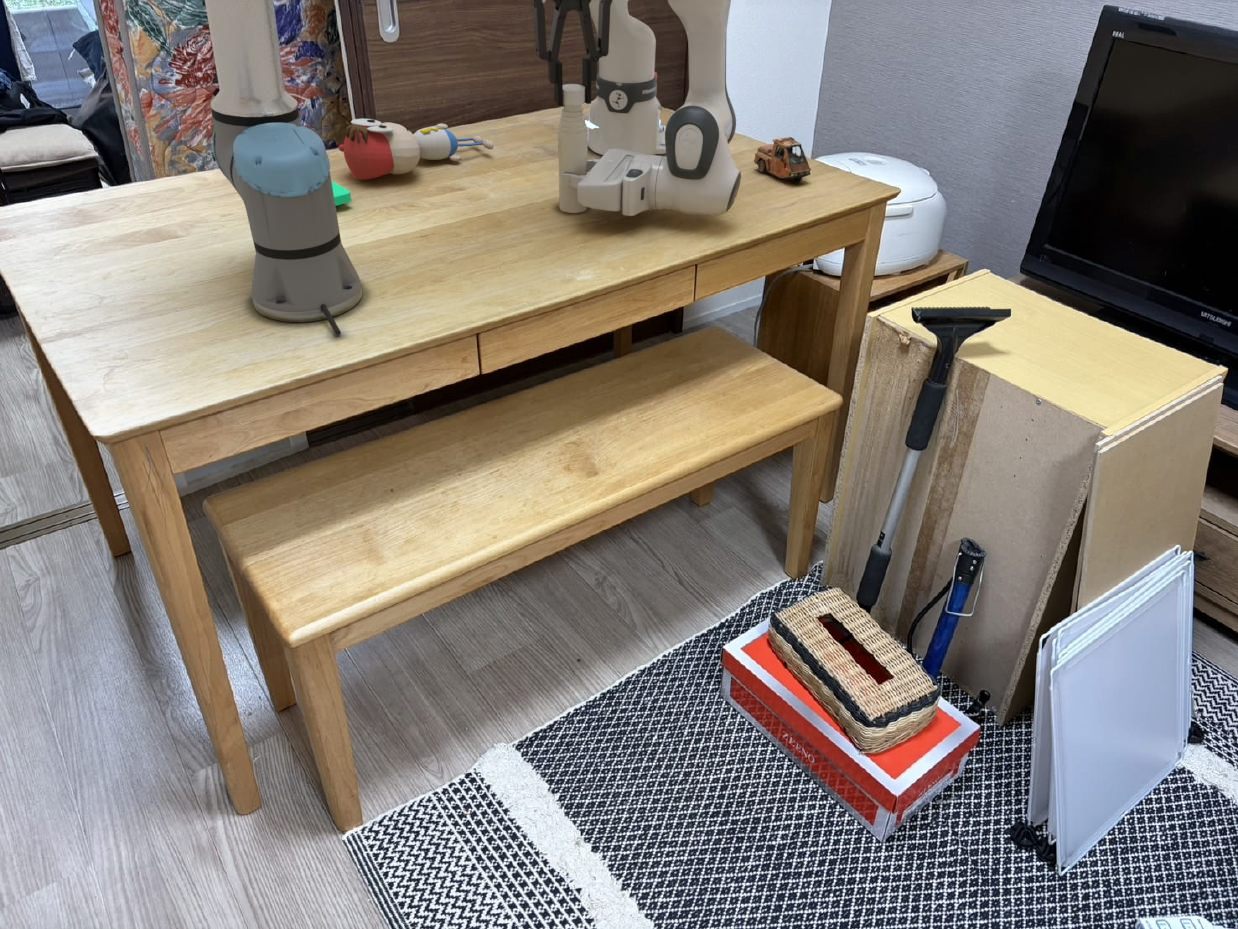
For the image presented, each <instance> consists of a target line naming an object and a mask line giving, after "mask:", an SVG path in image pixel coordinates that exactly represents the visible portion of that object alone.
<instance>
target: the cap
mask: <svg viewBox="0 0 1238 929" xmlns="http://www.w3.org/2000/svg"><path fill="white" fill-rule="evenodd" d="M564 104H565V105H581V104H582V105H583V104H586V103H585V87H584V86H582V84H578V83H568V84H567V83H566V84H563V105H564Z"/></svg>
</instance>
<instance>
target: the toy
mask: <svg viewBox="0 0 1238 929" xmlns="http://www.w3.org/2000/svg"><path fill="white" fill-rule="evenodd" d="M350 123H351V124H349V125H347V127H346V128H345V138H344V141H343V143H340V144H339V145H338V150H339V151H340V152H343V156H344V160H345V163H346V165H347V167H348V169H349V171H350V173H351V175H352V176H353V177H354V178H355V179H356V180H362V181H366V180H373V179H377V178H379V177H382V176H386V175H389V174H391V175H399V176H400V175H404V174H407V173H410V172H412V170H414V169H415V168H416V167H417V165H418V163H419V161H420V158H421V159H424V160H429V161H440V160H445V159H448V158H449V160H451V161H453V162H459V161H461V159H462V157H461V155H458V154H455V153H456V152H457V150H458V149H459V148H458V147H474V146H483V148H485V149H487V150H493V148H494V143H493V142H492V141H491V140H488V139H485V140H483V138H482V137H481V136H479V135H473V136H472V137H465V138H457V137H456V136H455V134H454V133H453V132H452V131H450V130H448V128H449V126H448V124H446V123H438V124H436V125H431V126H427V127H423V128H421V129H417V130H416V131H415V132H414V133H412V132H411V131H410V130H409V128H408V127H407V126H405V125H402V124H399V123H395V121H392V122H389V121H388V122H381V121H379V120H377V119H372V118H354V119H352V120H351V121H350ZM468 141H472V142H469V143H459V142H468Z"/></svg>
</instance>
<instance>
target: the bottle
mask: <svg viewBox="0 0 1238 929" xmlns="http://www.w3.org/2000/svg"><path fill="white" fill-rule="evenodd" d="M582 105H583V104H581V105H565V104H563V108H562V110H561V114H560V118H559V122H558V129H557V137H558V138H557V140H558V141H557V143H558V144H557V146H558V147H557V148H558V152H557V153H558V155H557V156H558V206H559V207H558V208H559V210H560V211H562V212H563V213H569V214H578V213H583V212H585V211H587V209H588V207H585V206H583V205H581V204H579V203H578V200H577V189H576V188H574V187H572V186H571V185H563V184H562V183H561V176H562V174H563V173H564V172H573V173H574V175H577V176H581V175H584V176H586V174H587V173H588V172H587V160H588V146H587V134H588V127H587V124H586V121H587V120H586V118H585V114H584V108H582Z"/></svg>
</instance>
